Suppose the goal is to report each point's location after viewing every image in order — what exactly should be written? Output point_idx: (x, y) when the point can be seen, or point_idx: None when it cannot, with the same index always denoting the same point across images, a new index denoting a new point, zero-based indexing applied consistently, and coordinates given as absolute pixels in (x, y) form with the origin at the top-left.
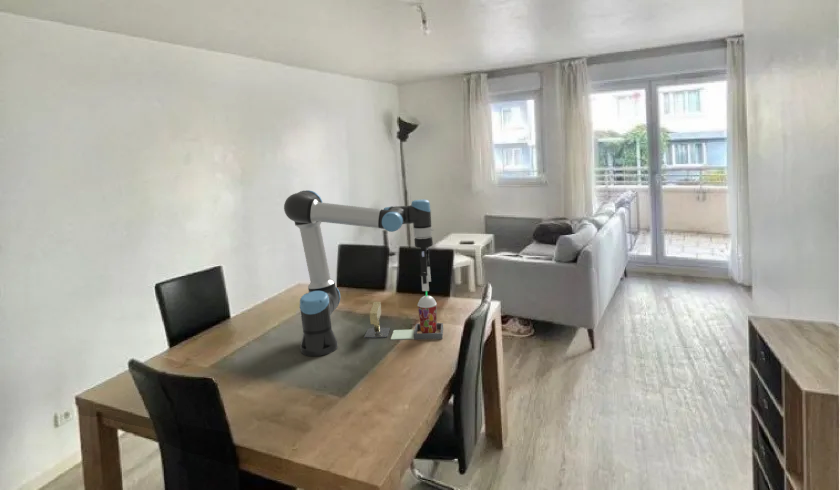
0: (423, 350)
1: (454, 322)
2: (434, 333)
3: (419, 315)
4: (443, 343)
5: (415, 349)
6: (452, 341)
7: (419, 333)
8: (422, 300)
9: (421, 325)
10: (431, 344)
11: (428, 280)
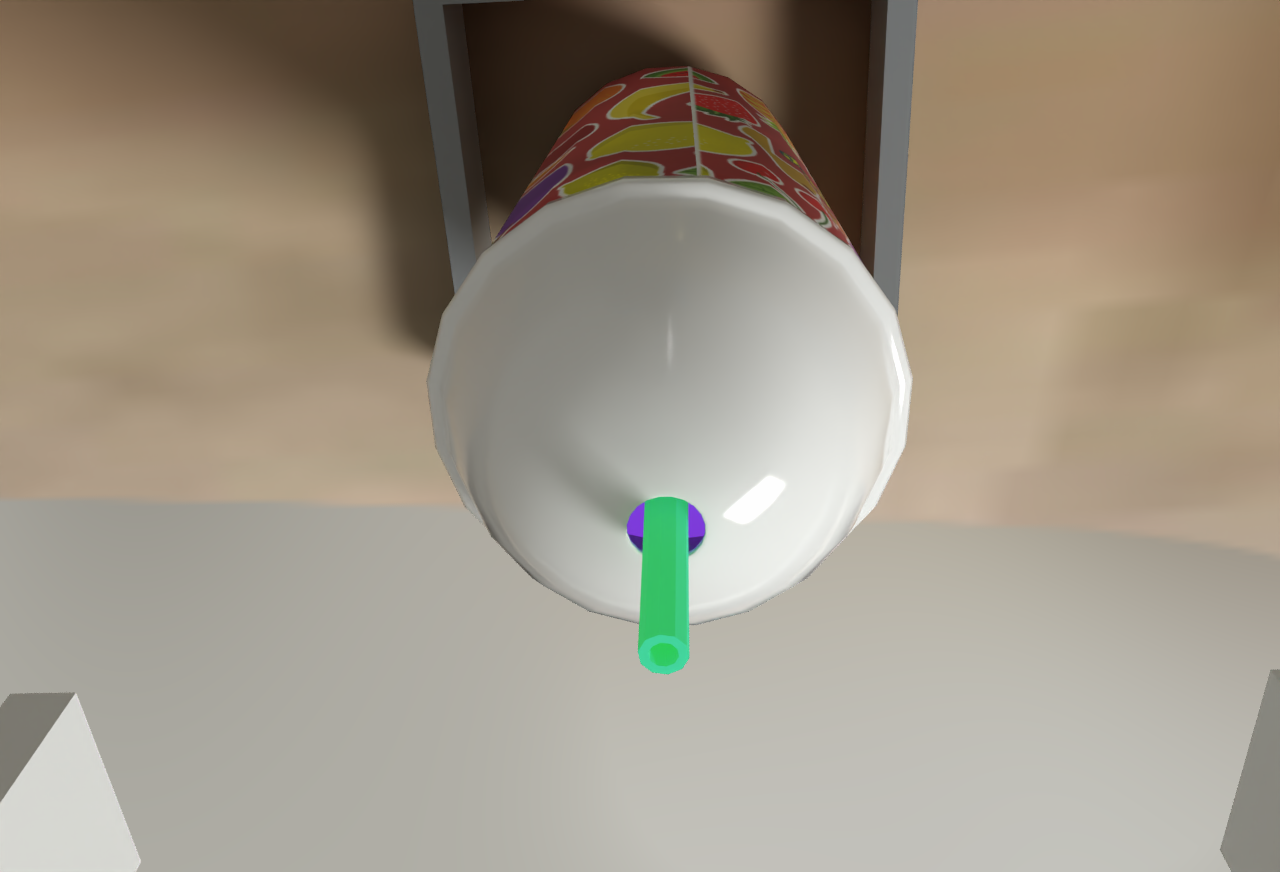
0: (66, 166)
1: (1085, 495)
2: None
3: (569, 152)
4: (341, 402)
5: (70, 41)
6: (416, 499)
7: (443, 79)
8: (516, 391)
9: (572, 127)
10: (286, 254)
11: (1257, 824)
